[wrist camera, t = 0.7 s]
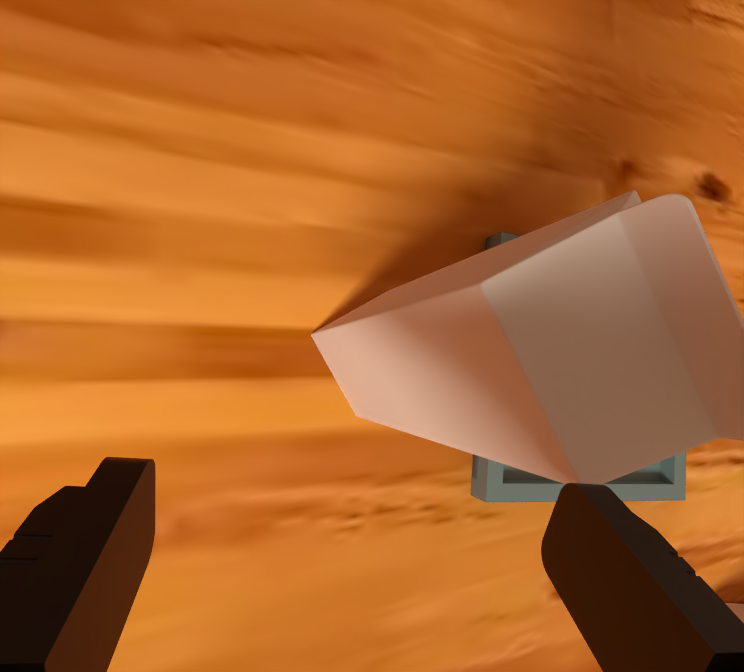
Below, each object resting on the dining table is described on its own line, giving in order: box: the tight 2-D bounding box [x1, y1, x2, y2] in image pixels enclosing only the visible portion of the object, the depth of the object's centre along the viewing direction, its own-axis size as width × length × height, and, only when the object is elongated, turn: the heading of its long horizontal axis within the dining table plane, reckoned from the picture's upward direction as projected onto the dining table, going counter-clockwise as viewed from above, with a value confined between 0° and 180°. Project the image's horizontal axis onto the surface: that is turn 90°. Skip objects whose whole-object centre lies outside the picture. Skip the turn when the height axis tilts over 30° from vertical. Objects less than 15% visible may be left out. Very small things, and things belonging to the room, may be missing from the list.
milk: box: [311, 190, 744, 484], centre depth 20 cm, size 6×6×22 cm
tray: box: [471, 232, 686, 502], centre depth 35 cm, size 18×18×2 cm
